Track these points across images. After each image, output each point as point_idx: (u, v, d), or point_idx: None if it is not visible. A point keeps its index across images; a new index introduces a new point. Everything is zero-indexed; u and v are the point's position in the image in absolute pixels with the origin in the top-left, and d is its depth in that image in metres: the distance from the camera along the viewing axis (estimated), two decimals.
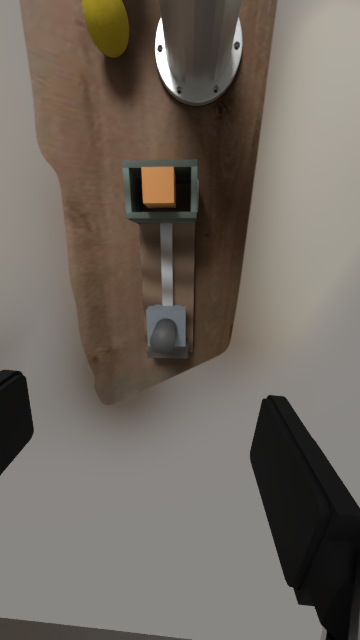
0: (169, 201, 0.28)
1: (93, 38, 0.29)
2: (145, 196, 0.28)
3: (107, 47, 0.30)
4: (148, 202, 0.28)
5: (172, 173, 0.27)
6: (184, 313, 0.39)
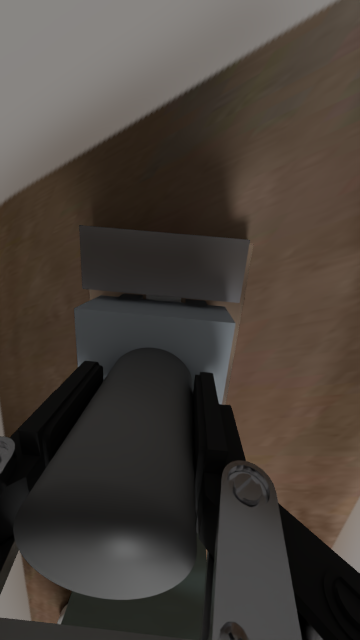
0: None
1: None
2: None
3: None
4: None
5: None
6: None
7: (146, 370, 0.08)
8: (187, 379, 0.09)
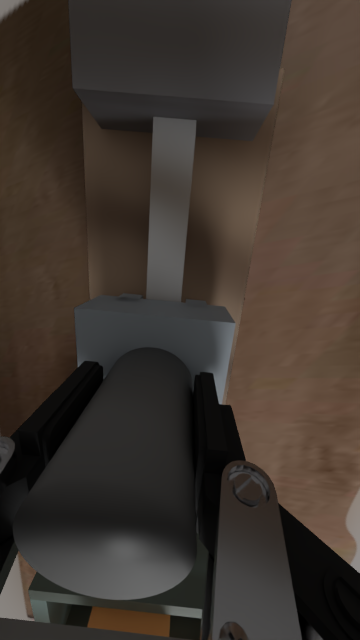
0: None
1: None
2: None
3: None
4: None
5: None
6: None
7: (146, 370, 0.08)
8: (187, 379, 0.09)
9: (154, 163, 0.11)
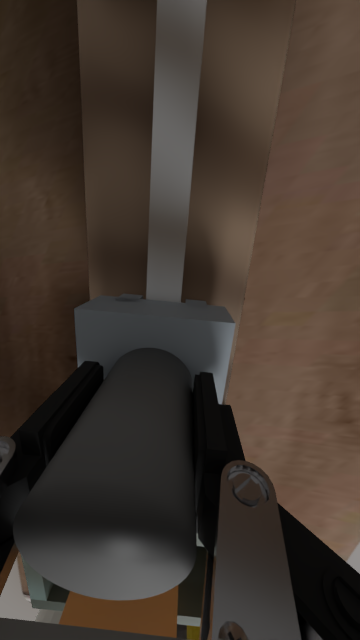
0: None
1: None
2: None
3: None
4: None
5: None
6: None
7: (146, 370, 0.08)
8: (187, 379, 0.09)
9: (160, 10, 0.09)
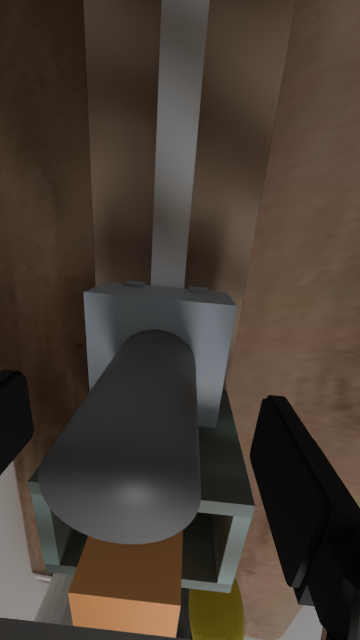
0: (83, 597, 0.08)
1: (237, 607, 0.21)
2: (169, 615, 0.08)
3: (221, 596, 0.21)
4: (161, 601, 0.08)
5: None
6: None
7: (153, 348, 0.09)
8: (191, 359, 0.10)
9: None
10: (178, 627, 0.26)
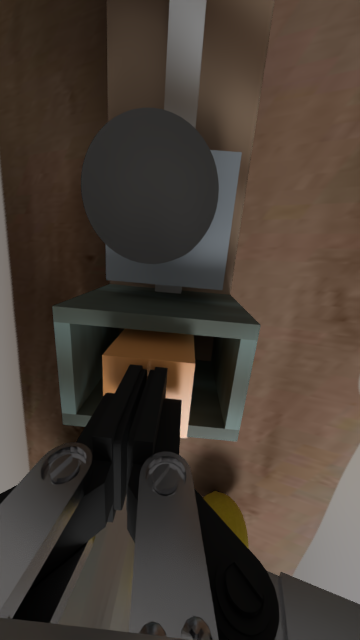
0: (115, 359, 0.09)
1: (241, 527, 0.22)
2: (185, 378, 0.10)
3: (225, 516, 0.22)
4: (178, 363, 0.09)
5: None
6: (109, 270, 0.13)
7: None
8: None
9: None
10: None
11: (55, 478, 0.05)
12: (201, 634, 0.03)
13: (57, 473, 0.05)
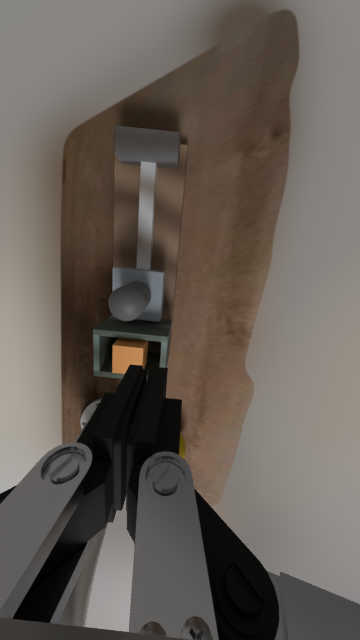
0: (116, 346, 0.28)
1: (181, 444, 0.40)
2: (140, 353, 0.29)
3: None
4: (138, 348, 0.28)
5: (113, 367, 0.29)
6: None
7: (135, 282, 0.28)
8: (148, 289, 0.30)
9: (141, 177, 0.30)
10: None
11: (55, 478, 0.05)
12: (201, 634, 0.03)
13: (57, 473, 0.05)
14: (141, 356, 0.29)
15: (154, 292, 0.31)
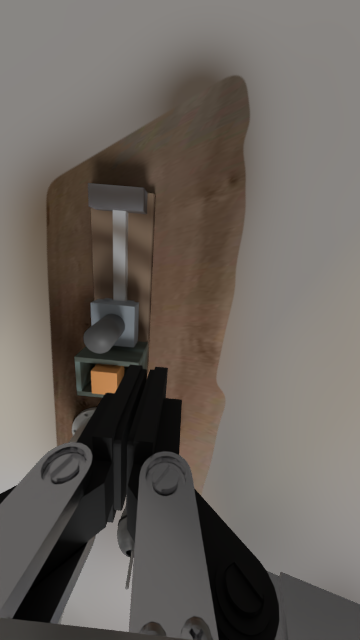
0: (94, 372, 0.33)
1: None
2: (114, 377, 0.33)
3: None
4: (112, 373, 0.33)
5: (92, 389, 0.34)
6: None
7: (108, 317, 0.33)
8: (121, 321, 0.34)
9: (113, 223, 0.34)
10: None
11: (56, 478, 0.05)
12: (201, 634, 0.03)
13: (57, 473, 0.05)
14: (115, 380, 0.33)
15: (127, 323, 0.35)
